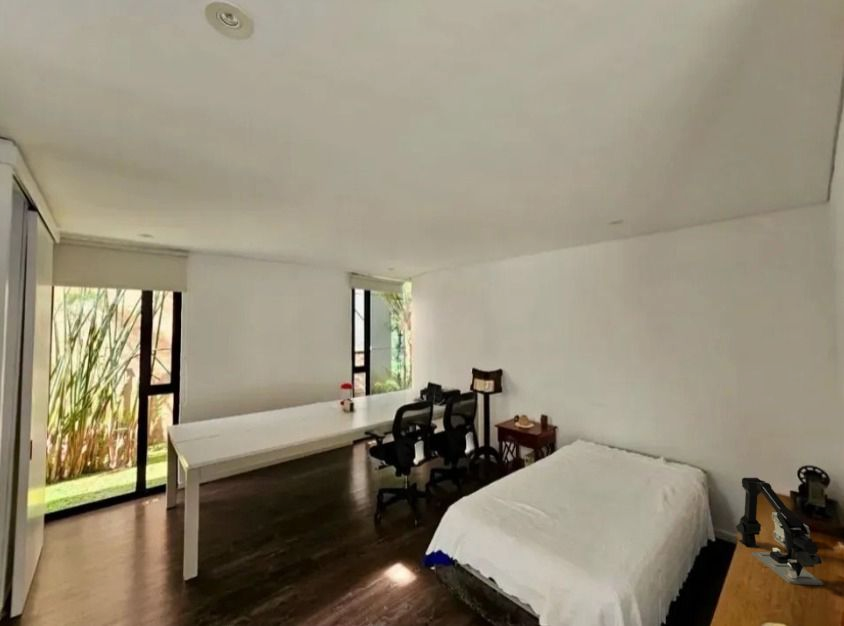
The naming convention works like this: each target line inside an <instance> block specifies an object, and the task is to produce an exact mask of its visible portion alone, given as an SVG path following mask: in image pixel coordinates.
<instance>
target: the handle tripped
mask: <svg viewBox="0 0 844 626" xmlns="http://www.w3.org/2000/svg"><path fill="white" fill-rule="evenodd" d="M787 571H788V576H790V577H791V578H795V579H797V576H796V571H795V570H793V569H792V568H787Z"/></svg>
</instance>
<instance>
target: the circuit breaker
mask: <svg viewBox="0 0 844 626" xmlns="http://www.w3.org/2000/svg"><path fill="white" fill-rule="evenodd" d="M771 513H772V514H771V520H772V521H773V522H774V530H773V537H774V540H775V541H776V542H777V543H779V544H780V545H782V546H783V547H786V545H785V544H784V543H783V541H785V537H784V530H783V529H782V528H780V526H782V524H781V523H780V521H779V520H778V518H777V512H776V511H775V512H773V511H772V512H771ZM803 524H804V526H805V527H806V529H807V531H808V533H809V535H806V536H807V537H810V536H811V535H810V534H811V530H810V528H809V526H808V525H806V524H805V523H803ZM793 529H795V530H801V528H793ZM810 538H811V537H810Z"/></svg>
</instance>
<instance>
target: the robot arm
mask: <svg viewBox="0 0 844 626" xmlns="http://www.w3.org/2000/svg"><path fill="white" fill-rule="evenodd" d="M741 485H742V489H743V490H744V491H745V495H744V496H745V498H744V499H745V500H744V501H745V502H744V514H743V516H741V518H740V519H739V523H738V524H737V525H736V526H735V529H736V531H737V532H738V533H739V534H741V539H738V541H739V542H740V543H741V544H742V545H744V546H745V547H748V548H760V545H758V544H757V539H756V536H760V532H761V531H762V530H761V527H762V524H761V523H760V522H759V521H758V520H757V514H758V513H757V511H758V496H759V495H760V494H761V493H762V494H763V496H764V497H765V499H766V500H767V501H768V503H769V504H770V506H771V507H772V508H773V509H774V511H775V512H777V518H778V520H779V521H780V523H781V524H782V526H780V528H782V529H783V530H784V537H785V541H783V543H784V544H785V545H786V546H785V549H784V550H783V551H784V553H786V554H784V555H783V553H782V552H781V553H780V552H779V551H773V550H772V551H770V557H771V558H772V559H774V560H775V561H776V562H778V563H780V564H787V563H788V562H789V564H790V565H791V567H792V568H793V570H795V571H796V575H797V576H799V575H800V573H801V570H802V568H803V569H804V568H814V567H815V565H820V564H821V565H823V560H822V557H820V556H819V555H817V553H818V552H819V546H818V545H817V543H816V542H814V541H813V538H811V537H807V536H806V535H809V534H810V532H809V533H808V531H807V529H806V527H805V526H804V524H805V523H804V522H803V521H802V519H801V518H800V517H799V516H798V514H797V513H795V512H794V511H793V510H791V509H789V508H788V507H787V506H786V505H785V503H784V502H783V501H782V499H781V498H780V496H778V494H777V493H776V492H775V491H774V489H773V488H772V485H771V484H770V483H769V482H766V480H762V479H760V478H759V477H743V478H742V479H741ZM793 528H801V530H795V529H793Z"/></svg>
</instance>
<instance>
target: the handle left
mask: <svg viewBox="0 0 844 626" xmlns="http://www.w3.org/2000/svg"><path fill="white" fill-rule="evenodd" d="M772 551H779V552H780V553H782V552H781V549H779V548H778V547H772Z"/></svg>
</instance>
